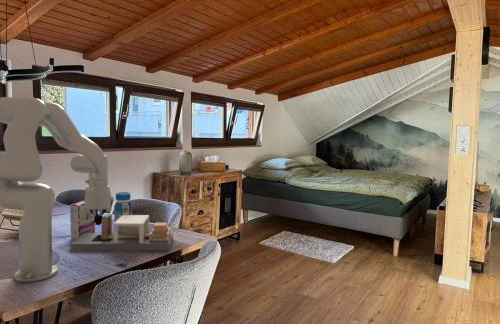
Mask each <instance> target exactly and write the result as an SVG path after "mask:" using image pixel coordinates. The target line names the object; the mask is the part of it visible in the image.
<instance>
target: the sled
mask: <svg viewBox="0 0 500 324" xmlns="http://www.w3.org/2000/svg"><path fill="white" fill-rule="evenodd" d="M112 215H113V214H112V213H107V214H106V213H105V215H103V218H102V223H101V233H102V239H107V238H114V234H112V233H113V232H112V231H113V228H112V227H113V218H112V217H113V216H112ZM149 233H150V234H144V238H149V241H168V240H169V237H170V235H171V233H172V228H171V227H167V234H154V227H153V228H152V229H151V231H149ZM118 238H139V234H118Z"/></svg>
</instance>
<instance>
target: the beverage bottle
mask: <svg viewBox="0 0 500 324" xmlns="http://www.w3.org/2000/svg"><path fill="white" fill-rule="evenodd" d="M130 200H131V192H127V191H122V192H120V191H119V192H115V204H114V206H113V208H114V210H113V217H114V220H113V221H114V222H113V224H114V223H115V222H116V221H117V220H118V219H119V218H120V217H121V216H122V215H133V209H132V207H133V205H132V203H131V202H130ZM118 233H122V226H118Z"/></svg>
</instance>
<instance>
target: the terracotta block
mask: <svg viewBox="0 0 500 324" xmlns="http://www.w3.org/2000/svg"><path fill="white" fill-rule="evenodd" d="M153 228H154V234H167V228H168V223H167V222H155V223H154V224H153Z"/></svg>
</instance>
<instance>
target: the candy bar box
mask: <svg viewBox="0 0 500 324" xmlns="http://www.w3.org/2000/svg"><path fill="white" fill-rule="evenodd" d="M69 214H70V215H69V219H70V240H73V241H75V240H76V239H77V238H78V237H80V236H81V235H82V234H83V233H96V230H95V229H96V228H95V227H96V225H95V223H94V216H93V214H92V213H91V212H88V211H85V200H82V201H78V202H75V203H71V204H70V205H69Z"/></svg>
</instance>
